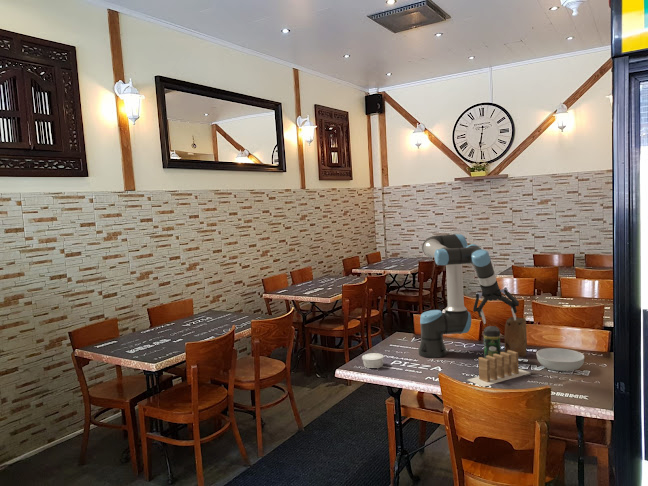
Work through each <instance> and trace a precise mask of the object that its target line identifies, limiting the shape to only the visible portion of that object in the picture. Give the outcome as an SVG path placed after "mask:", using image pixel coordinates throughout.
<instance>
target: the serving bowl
mask: <svg viewBox="0 0 648 486" xmlns="http://www.w3.org/2000/svg"><path fill="white" fill-rule="evenodd" d="M536 359H537V362H538V363H539V364H540V365H541V366H542V367H544V368H545V369H549V370H552V371H556V372H572V371H577V370H579V369H580V368H581V367H582V366H583V365H584V362H585V355H584V354H583V353H581V352H580V351H577V350H573V349H567V348H562V347H561V348H560V347H547V348H541V349H539V350H537V351H536Z"/></svg>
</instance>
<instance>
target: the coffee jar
mask: <svg viewBox="0 0 648 486" xmlns="http://www.w3.org/2000/svg"><path fill="white" fill-rule="evenodd" d="M483 352H484V353H483V354H484V355H483V356H484V358H485V359H486V356H488V355H489V356H492V357H493V354H499V355H500V352H502V351H501V330H500V328H499V327H497V326H496V325H495V326H494V325H488V326H486V327H485V328H484V329H483Z"/></svg>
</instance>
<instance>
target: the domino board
mask: <svg viewBox="0 0 648 486" xmlns="http://www.w3.org/2000/svg"><path fill="white" fill-rule="evenodd" d="M530 374H531V372H530V371H528V370H527V371H526V370H525V369H521V368H519V374H514V373H512V376H507V375H505V378H500V377H497V380H493V379H490V382H485V381H483V380H480V379H479V376H476V377H472V378H468V379H467V381H468V382H471V383H474V384H476V385H478V386H481V387H483V388H484V387H487V386H490V385H491V386H492V385H493V384H496V383H497V384H498V383H501V382H504V381H508V380H511V379H515V378H518V377H522V376H525V375H530Z"/></svg>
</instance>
